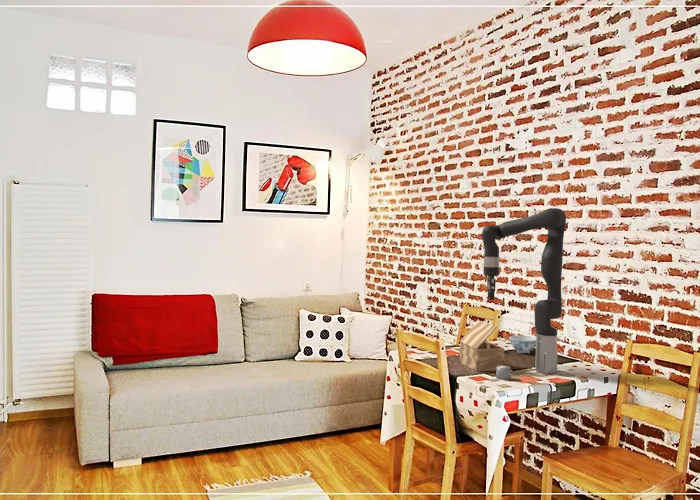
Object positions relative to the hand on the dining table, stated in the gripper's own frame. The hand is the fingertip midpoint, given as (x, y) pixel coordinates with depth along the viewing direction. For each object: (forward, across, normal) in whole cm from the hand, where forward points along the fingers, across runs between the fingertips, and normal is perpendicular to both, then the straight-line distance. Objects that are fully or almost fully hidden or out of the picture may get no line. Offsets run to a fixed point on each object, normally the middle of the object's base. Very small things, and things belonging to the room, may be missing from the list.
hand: (490, 298), depth 297 cm
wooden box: (+31, -11, +5) cm, 33 cm away
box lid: (+16, -12, +7) cm, 21 cm away
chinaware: (+31, +26, -20) cm, 45 cm away
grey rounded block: (+31, -32, -2) cm, 45 cm away
